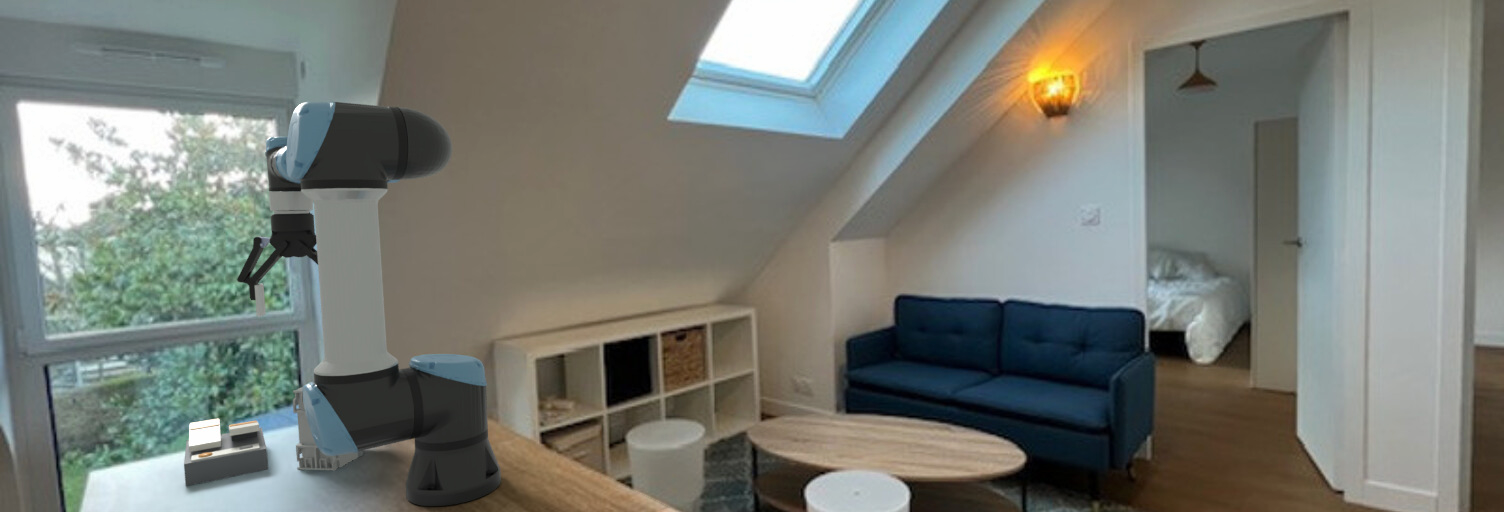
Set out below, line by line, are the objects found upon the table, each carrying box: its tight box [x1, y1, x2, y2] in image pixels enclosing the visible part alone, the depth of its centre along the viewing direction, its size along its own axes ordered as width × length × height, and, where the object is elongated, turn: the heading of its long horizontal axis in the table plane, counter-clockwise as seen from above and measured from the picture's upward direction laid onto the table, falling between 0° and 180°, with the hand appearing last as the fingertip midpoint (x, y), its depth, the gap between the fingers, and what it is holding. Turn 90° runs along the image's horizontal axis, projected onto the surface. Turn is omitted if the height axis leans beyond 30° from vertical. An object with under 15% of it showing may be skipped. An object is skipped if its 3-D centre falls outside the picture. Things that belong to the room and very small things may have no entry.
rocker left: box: [188, 417, 221, 452], centre depth 133 cm, size 10×5×1 cm, turn 38°
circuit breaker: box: [292, 386, 364, 471], centre depth 137 cm, size 8×14×15 cm, turn 174°
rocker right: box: [228, 420, 260, 436], centre depth 136 cm, size 10×5×1 cm, turn 38°
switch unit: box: [183, 427, 269, 487], centre depth 133 cm, size 16×12×5 cm
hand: (298, 313), depth 147 cm, fingers open, 13 cm apart
